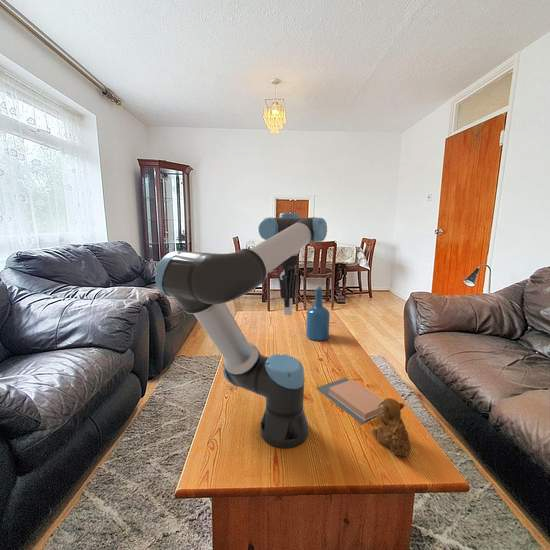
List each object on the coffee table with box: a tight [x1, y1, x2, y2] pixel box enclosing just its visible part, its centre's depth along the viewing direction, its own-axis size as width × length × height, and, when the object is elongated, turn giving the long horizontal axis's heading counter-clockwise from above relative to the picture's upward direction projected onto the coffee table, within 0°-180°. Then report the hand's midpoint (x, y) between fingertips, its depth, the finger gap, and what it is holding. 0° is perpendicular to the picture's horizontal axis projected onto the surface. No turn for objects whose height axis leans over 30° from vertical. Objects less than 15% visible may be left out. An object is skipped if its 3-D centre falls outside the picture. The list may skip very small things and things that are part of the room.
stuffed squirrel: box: [371, 397, 412, 457], centre depth 85 cm, size 10×14×13 cm
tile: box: [329, 379, 385, 421], centre depth 106 cm, size 2×12×18 cm
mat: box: [315, 377, 384, 425], centre depth 109 cm, size 24×16×1 cm, turn 30°
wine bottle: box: [305, 285, 331, 342], centre depth 166 cm, size 14×13×30 cm
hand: (288, 314), depth 114 cm, fingers closed
